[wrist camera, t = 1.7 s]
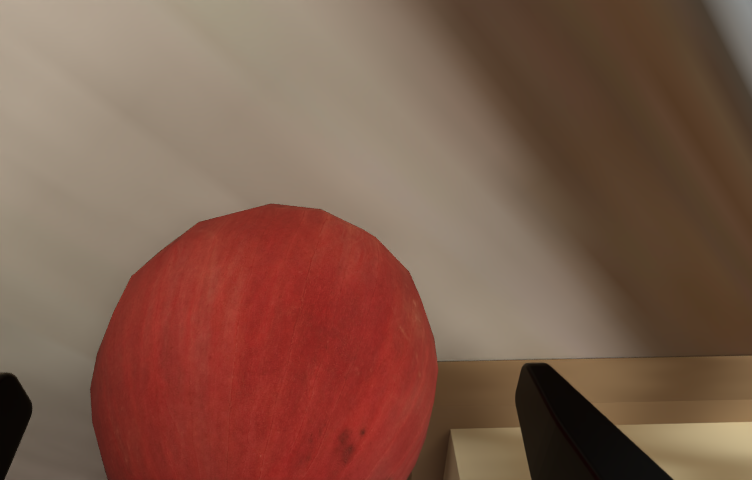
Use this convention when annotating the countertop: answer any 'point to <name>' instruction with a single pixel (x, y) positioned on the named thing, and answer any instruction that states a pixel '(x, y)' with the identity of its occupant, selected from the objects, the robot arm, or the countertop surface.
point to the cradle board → (612, 398)
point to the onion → (266, 356)
